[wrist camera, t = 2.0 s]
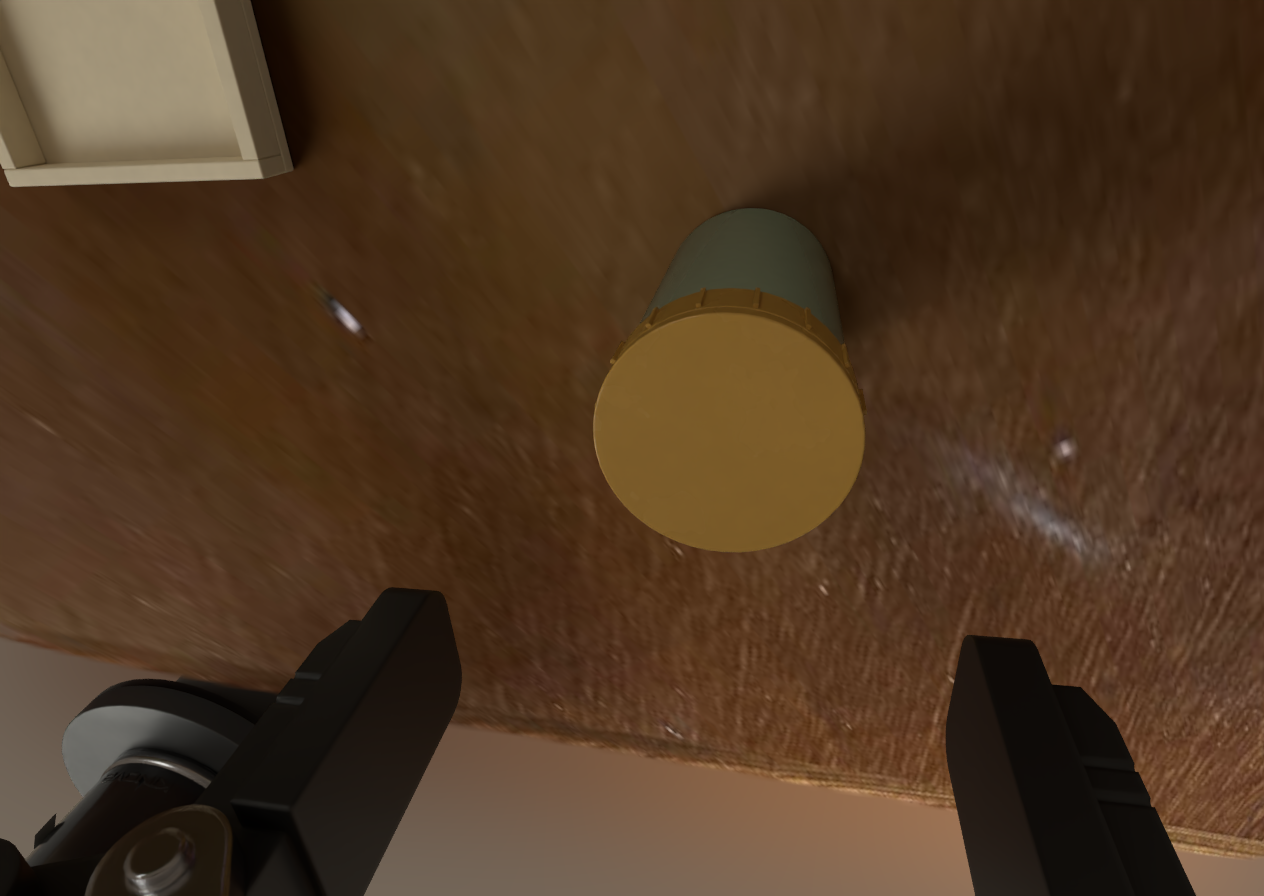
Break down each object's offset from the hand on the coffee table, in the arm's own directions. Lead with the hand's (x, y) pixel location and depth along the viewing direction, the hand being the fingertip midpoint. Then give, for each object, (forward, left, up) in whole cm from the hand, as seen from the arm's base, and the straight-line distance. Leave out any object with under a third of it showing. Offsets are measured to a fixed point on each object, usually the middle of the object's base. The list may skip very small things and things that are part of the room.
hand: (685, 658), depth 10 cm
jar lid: (0, 0, -7) cm, 7 cm away
